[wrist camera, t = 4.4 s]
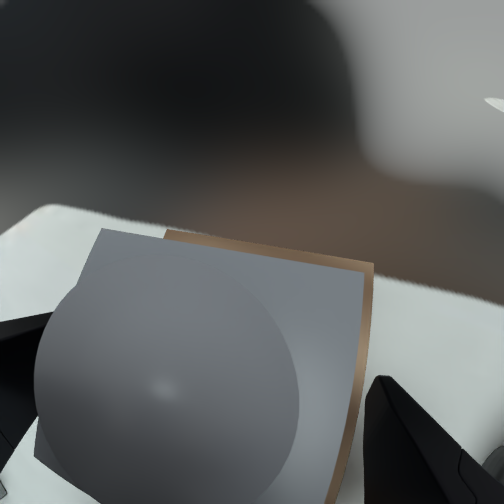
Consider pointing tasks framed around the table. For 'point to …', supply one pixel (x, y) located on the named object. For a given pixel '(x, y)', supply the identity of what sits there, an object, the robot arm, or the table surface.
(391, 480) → the robot arm
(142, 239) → the domed grey block
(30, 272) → the table surface
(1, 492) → the skincare box
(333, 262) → the wooden board
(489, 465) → the beverage cup
